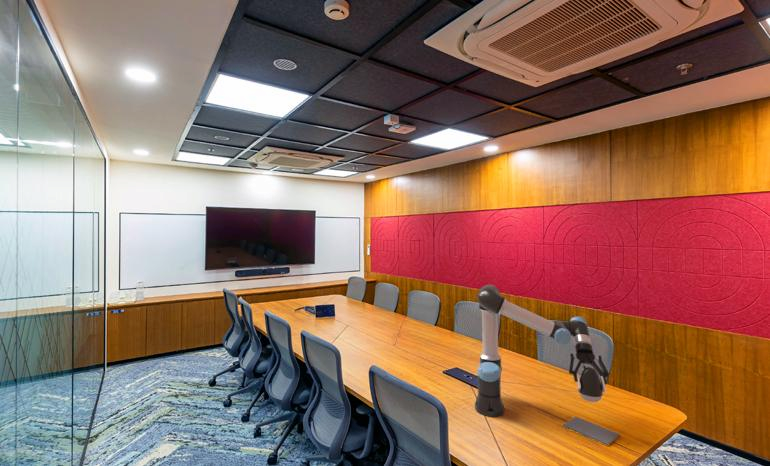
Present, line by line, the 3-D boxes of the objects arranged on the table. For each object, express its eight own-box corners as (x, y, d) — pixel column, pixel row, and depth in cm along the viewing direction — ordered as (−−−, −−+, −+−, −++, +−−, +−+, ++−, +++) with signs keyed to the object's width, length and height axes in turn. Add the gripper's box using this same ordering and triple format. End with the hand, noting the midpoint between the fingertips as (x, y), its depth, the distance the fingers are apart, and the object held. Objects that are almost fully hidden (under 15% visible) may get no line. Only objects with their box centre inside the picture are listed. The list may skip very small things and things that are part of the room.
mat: (607, 446, 155) (607, 444, 155) (562, 426, 172) (562, 424, 172) (619, 436, 163) (619, 434, 163) (575, 418, 179) (575, 416, 179)
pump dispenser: (593, 394, 173) (593, 363, 173) (607, 404, 162) (607, 371, 162) (573, 394, 172) (572, 363, 173) (586, 405, 162) (585, 372, 162)
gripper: (606, 351, 179) (617, 395, 164) (558, 347, 185) (564, 390, 170) (609, 343, 174) (621, 389, 159) (559, 340, 180) (566, 383, 165)
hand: (591, 389), depth 164 cm, fingers closed on pump dispenser, 10 cm apart
